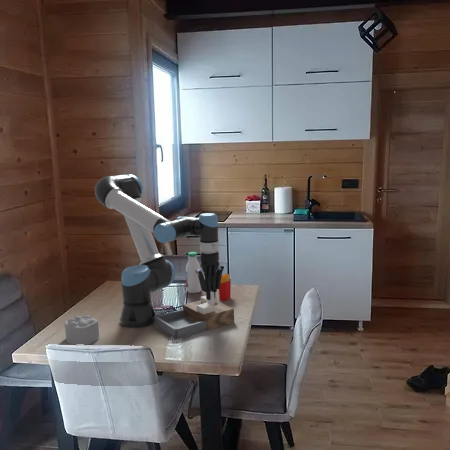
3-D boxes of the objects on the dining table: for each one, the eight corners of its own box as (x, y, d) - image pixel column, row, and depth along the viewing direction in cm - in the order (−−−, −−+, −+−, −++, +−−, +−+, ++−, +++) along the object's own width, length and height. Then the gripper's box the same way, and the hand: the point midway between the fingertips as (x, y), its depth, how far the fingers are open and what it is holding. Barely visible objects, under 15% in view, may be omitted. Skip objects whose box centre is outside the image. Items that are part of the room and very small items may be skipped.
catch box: (175, 339, 192) (175, 329, 191) (154, 325, 206) (153, 316, 205) (206, 330, 199) (205, 321, 199) (183, 317, 214) (183, 309, 213)
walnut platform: (206, 330, 199) (205, 316, 198) (183, 317, 214) (182, 304, 213) (234, 322, 207) (233, 308, 206) (210, 310, 222) (210, 297, 221)
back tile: (207, 305, 211) (206, 299, 211) (200, 302, 215) (200, 296, 215) (216, 302, 214) (216, 297, 213) (210, 299, 218) (210, 294, 217)
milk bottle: (204, 289, 252) (202, 251, 249) (197, 294, 245) (195, 255, 242) (191, 288, 255) (189, 250, 252) (183, 292, 249) (181, 253, 245)
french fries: (226, 295, 242) (225, 272, 239) (232, 297, 239) (232, 273, 237) (216, 301, 234) (215, 276, 232) (223, 302, 232) (222, 277, 230)
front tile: (203, 314, 201) (203, 308, 200) (196, 311, 205) (196, 305, 204) (213, 311, 203) (213, 305, 203) (206, 308, 207) (206, 302, 207)
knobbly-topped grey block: (83, 347, 187) (81, 325, 186) (59, 341, 194) (57, 320, 192) (102, 337, 196) (101, 316, 195) (79, 331, 202) (77, 311, 201)
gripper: (201, 255, 195) (203, 312, 199) (227, 250, 202) (229, 305, 207) (191, 252, 201) (193, 307, 205) (217, 247, 208) (218, 300, 213)
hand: (211, 306), depth 206 cm, fingers closed
